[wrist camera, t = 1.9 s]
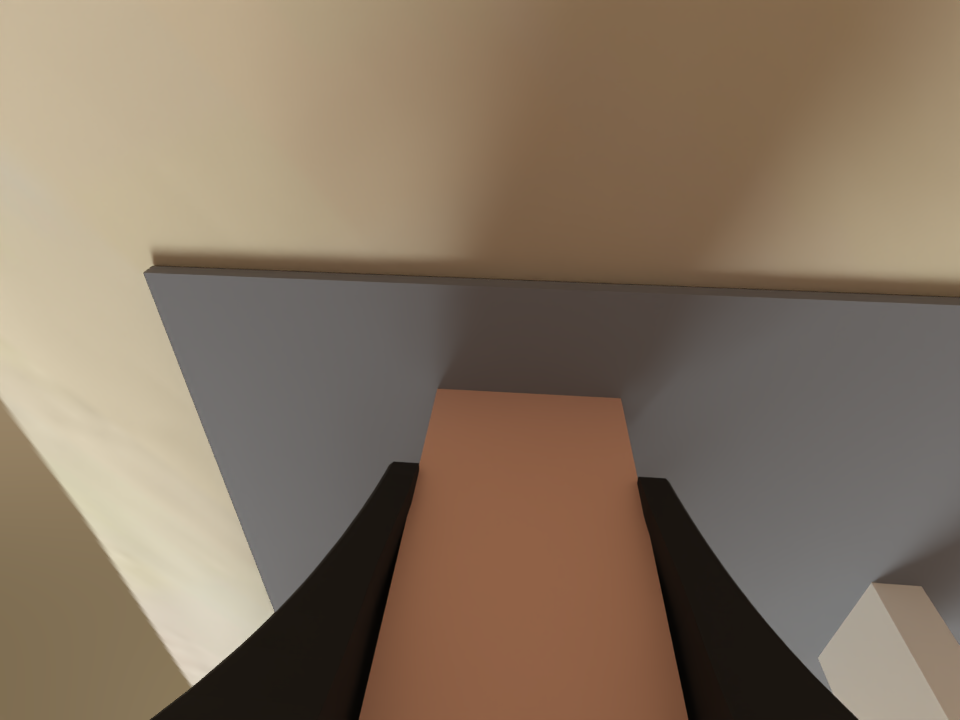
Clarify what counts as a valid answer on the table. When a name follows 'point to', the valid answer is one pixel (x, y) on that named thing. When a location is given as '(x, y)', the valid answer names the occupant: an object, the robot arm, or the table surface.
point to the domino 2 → (894, 658)
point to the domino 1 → (525, 572)
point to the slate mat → (599, 373)
